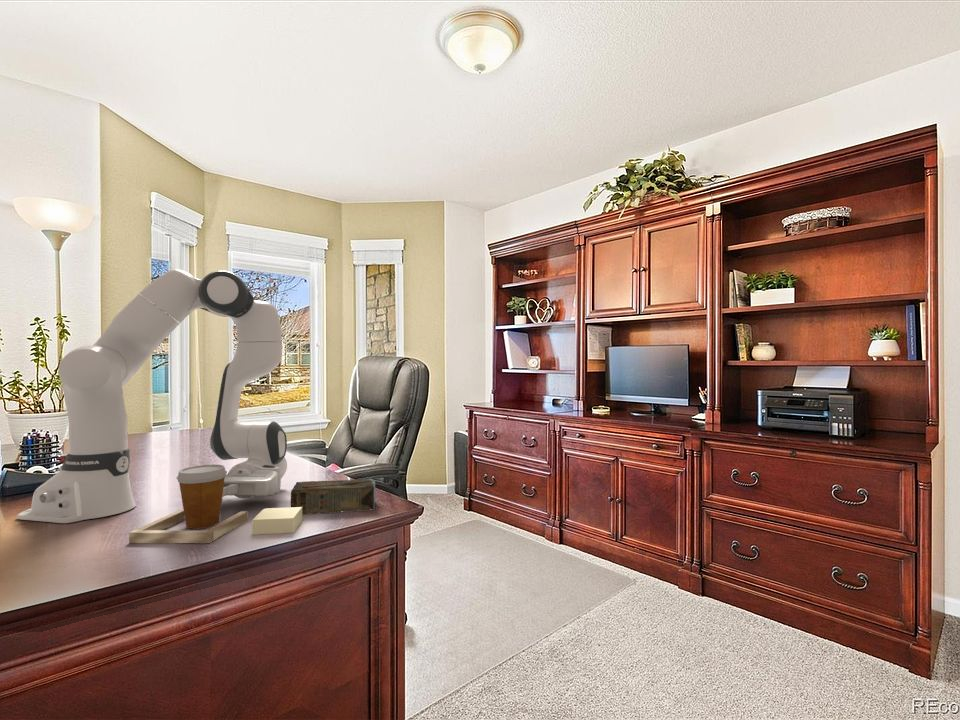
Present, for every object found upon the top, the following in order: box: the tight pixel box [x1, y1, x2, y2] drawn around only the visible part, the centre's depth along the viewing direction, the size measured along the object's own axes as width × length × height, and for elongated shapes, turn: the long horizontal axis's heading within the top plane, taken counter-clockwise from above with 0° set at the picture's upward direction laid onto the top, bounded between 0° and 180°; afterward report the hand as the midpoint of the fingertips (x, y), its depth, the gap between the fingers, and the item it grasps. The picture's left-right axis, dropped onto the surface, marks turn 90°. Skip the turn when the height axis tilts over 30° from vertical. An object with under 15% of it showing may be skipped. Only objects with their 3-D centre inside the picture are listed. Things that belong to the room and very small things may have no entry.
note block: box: [251, 506, 303, 536], centre depth 106 cm, size 8×8×3 cm
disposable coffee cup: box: [176, 463, 228, 530], centre depth 108 cm, size 10×10×12 cm
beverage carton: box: [290, 478, 376, 516], centre depth 119 cm, size 8×19×7 cm, turn 102°
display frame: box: [128, 510, 249, 544], centre depth 104 cm, size 16×14×2 cm
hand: (215, 493), depth 112 cm, fingers closed, pressing on disposable coffee cup
